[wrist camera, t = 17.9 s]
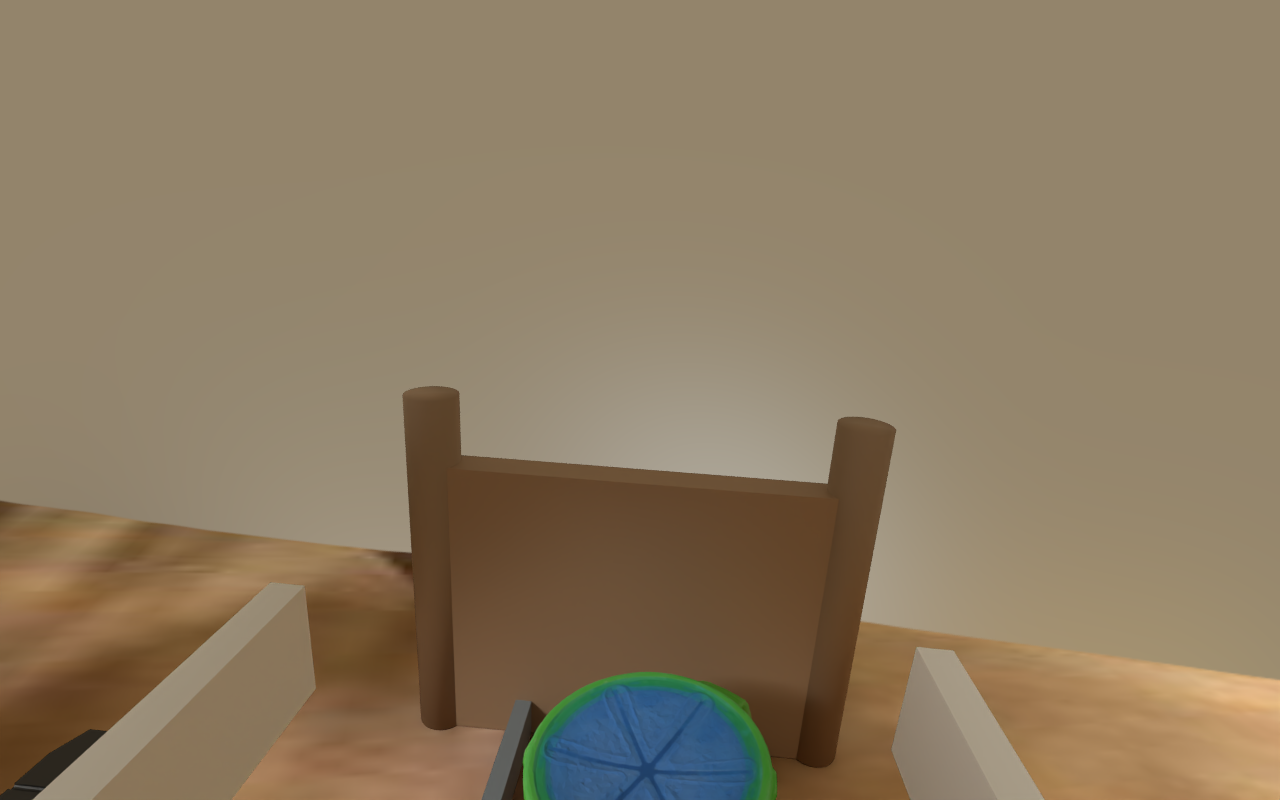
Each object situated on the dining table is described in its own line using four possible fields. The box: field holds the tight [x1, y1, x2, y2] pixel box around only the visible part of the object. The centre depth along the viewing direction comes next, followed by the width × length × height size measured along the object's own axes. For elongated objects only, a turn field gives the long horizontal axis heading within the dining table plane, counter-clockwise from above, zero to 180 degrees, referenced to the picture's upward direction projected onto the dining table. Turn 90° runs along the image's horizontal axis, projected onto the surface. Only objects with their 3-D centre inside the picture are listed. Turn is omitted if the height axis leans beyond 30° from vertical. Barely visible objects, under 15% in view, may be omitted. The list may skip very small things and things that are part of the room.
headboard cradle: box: [403, 386, 896, 800], centre depth 29 cm, size 27×20×22 cm
